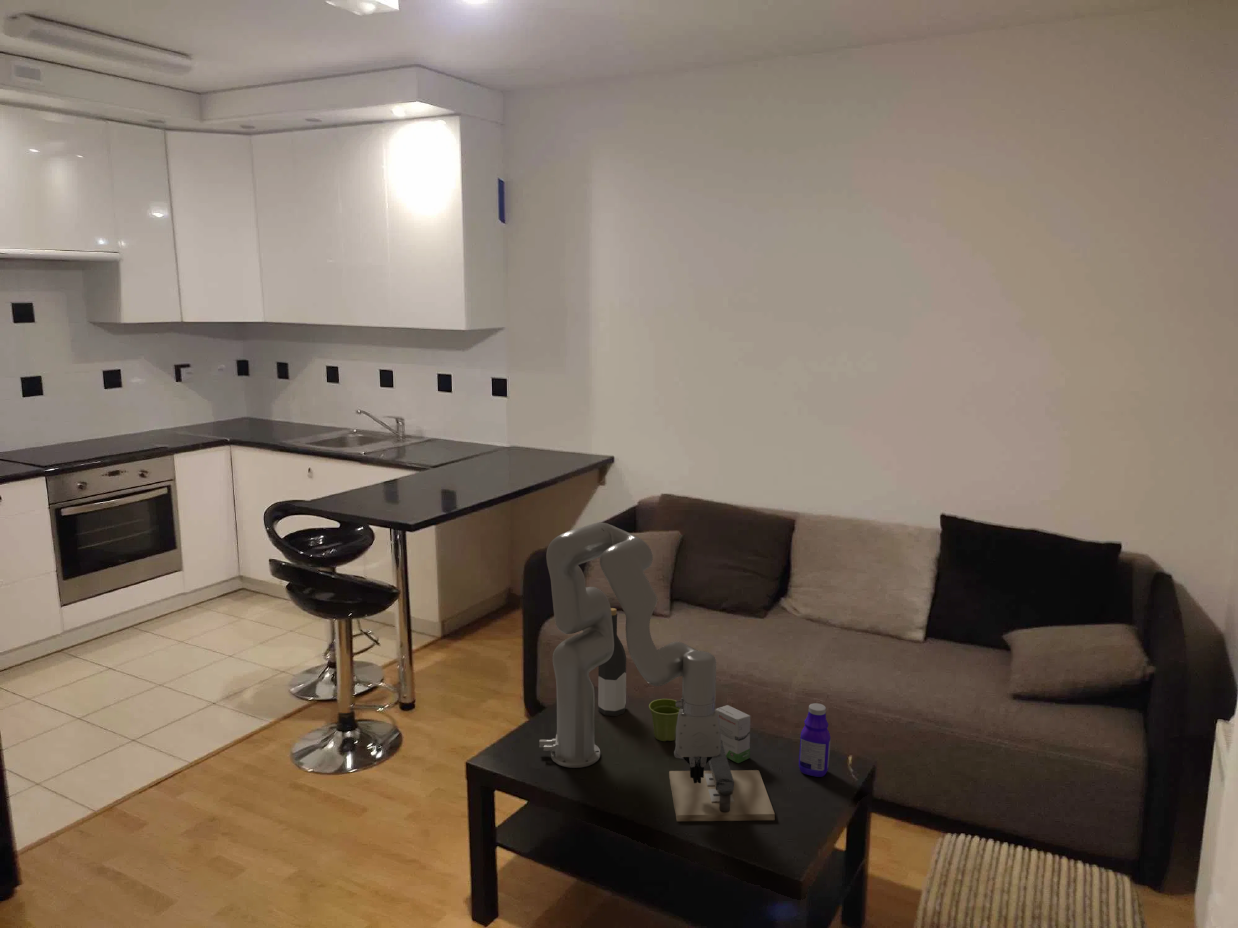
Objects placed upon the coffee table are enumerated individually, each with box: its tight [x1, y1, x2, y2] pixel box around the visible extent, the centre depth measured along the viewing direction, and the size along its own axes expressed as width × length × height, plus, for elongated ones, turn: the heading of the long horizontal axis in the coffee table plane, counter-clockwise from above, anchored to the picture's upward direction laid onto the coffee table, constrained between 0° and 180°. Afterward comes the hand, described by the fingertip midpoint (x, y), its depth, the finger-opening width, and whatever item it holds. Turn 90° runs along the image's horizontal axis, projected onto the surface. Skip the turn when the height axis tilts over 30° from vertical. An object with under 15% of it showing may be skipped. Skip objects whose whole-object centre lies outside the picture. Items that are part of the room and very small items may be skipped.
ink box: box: [715, 704, 751, 764], centre depth 227 cm, size 9×5×12 cm, turn 39°
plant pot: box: [648, 698, 680, 742], centre depth 237 cm, size 9×9×9 cm
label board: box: [668, 769, 776, 822], centre depth 208 cm, size 22×19×6 cm
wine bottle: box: [597, 607, 627, 717], centre depth 250 cm, size 8×8×30 cm
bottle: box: [798, 703, 832, 778], centre depth 219 cm, size 7×6×17 cm
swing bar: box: [708, 745, 734, 796], centre depth 208 cm, size 4×19×2 cm, turn 2°
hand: (696, 779), depth 205 cm, fingers closed
